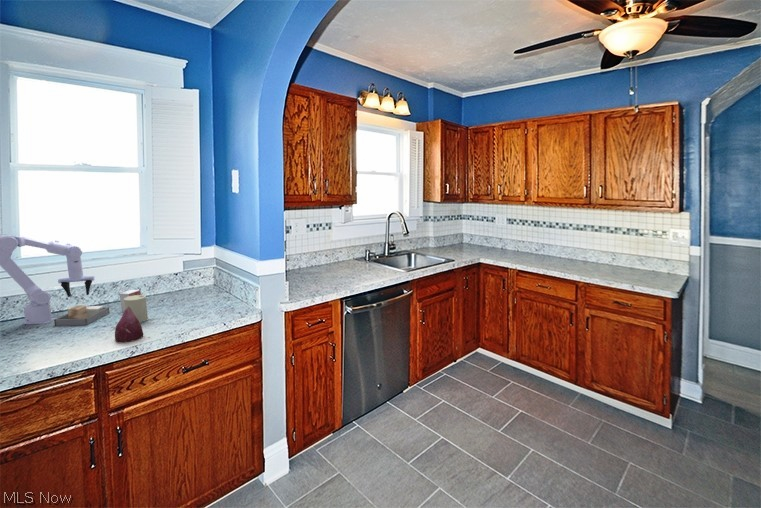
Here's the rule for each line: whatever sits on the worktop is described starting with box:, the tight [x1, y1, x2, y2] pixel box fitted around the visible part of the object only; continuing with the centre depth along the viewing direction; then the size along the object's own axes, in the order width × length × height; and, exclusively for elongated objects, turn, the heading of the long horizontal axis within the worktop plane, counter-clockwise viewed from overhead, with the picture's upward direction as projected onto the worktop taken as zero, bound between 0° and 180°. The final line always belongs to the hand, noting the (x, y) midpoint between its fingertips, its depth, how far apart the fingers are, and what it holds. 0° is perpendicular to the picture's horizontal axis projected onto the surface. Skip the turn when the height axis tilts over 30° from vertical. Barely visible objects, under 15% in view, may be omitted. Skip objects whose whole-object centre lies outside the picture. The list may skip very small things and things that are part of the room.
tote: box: [53, 306, 110, 327], centre depth 193 cm, size 14×18×4 cm
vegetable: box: [114, 306, 144, 344], centre depth 172 cm, size 10×10×15 cm
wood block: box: [67, 305, 88, 319], centre depth 189 cm, size 4×6×7 cm
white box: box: [86, 305, 105, 317], centre depth 198 cm, size 10×5×4 cm, turn 95°
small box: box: [119, 289, 142, 313], centre depth 207 cm, size 8×6×10 cm
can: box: [124, 294, 149, 323], centre depth 193 cm, size 9×9×12 cm
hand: (78, 295), depth 202 cm, fingers open, 7 cm apart
